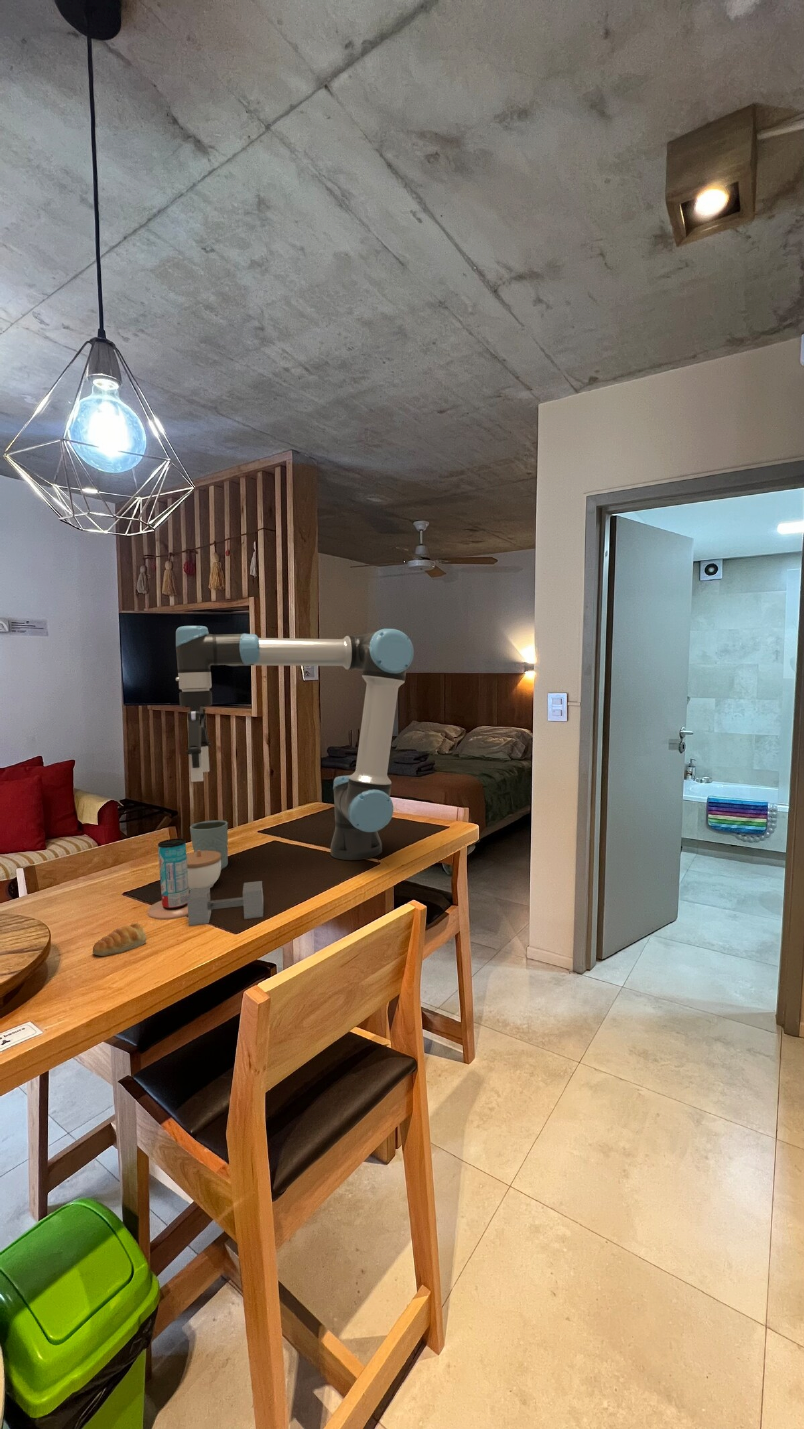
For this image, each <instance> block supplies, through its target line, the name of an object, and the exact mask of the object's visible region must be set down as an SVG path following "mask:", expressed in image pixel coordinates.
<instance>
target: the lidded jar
mask: <svg viewBox="0 0 804 1429" xmlns="http://www.w3.org/2000/svg"><path fill="white" fill-rule="evenodd" d="M186 854H187V870H188V886H189V891H190V890H191V889H193V888H202V887H210V889H211V888H213V887H214V884H215V883H216V882H217V880H219V878H220V875H221V871H222V869H221V854H220V853H219V852H216V851H201V850H197V852H194V851H192V852H189V853H186Z"/></svg>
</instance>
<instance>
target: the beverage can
mask: <svg viewBox="0 0 804 1429" xmlns="http://www.w3.org/2000/svg"><path fill="white" fill-rule="evenodd" d="M186 842H187V841H186V840H185V839H184V838H169V839H166V840H162V841H159V843H157V846H158V848H157V849H158V851H157V852H158V864H159V867H158V868H159V878H160V880H159V882H160V892H161V893H160V894H161V900H162V906H163V908H164V909H167V910H176V909H180V908H183V907H185V906H187V905H188V904H187V898H188V895H189V893H190V890H189V886H188V870H187V854H188V853H187V843H186Z"/></svg>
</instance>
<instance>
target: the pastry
mask: <svg viewBox="0 0 804 1429" xmlns="http://www.w3.org/2000/svg"><path fill="white" fill-rule="evenodd" d="M146 942H147V936H146V932H145V931H144V929H143V927H142V925H141V924H140V923H138V922H133V923H131V924H130V925H126V926H122V927H120V928H116V929H114V930H113V931H111V933H109V934H107V935H105V936H103V937H102V938H101V939H99V940H97V941H96V942H95V943H94V944H93V947H92V954H94V955H95V956H98V957H99V956H101V957H107V956H111V955H115V954H121V953H125V952H127V951H131V950H132V949H136V948H139V947H141V946H144V944H146Z"/></svg>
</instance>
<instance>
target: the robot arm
mask: <svg viewBox="0 0 804 1429" xmlns="http://www.w3.org/2000/svg"><path fill="white" fill-rule="evenodd" d="M175 650H176V662H177V663H176V664H177V674H178V675H177V676H176V677H175V681H176V682H178V689H179V690H181V691H180V692H179V693H178V695H179V696H178V697H179V706H180V707H181V708H190V710H189V711H187V750H185V755H189V770H190V782H191V783H193V782H194V783H196V782H204V780H205V779H204V773H209V772H210V771H211V770H210V758H209V757H210V756H209V746H212V744H211V741H209V740H210V739H209V735H208V727H207V713H206V709H205V708H204V707H211V706H213V693H212V690H210V689H211V688H212V685H213V684H212V672H211V666H221V665H222V666H224V665H225V666H229V667H239V666H242V667H243V666H247V667H248V666H250V667H251V666H281V667H282V666H287V667H288V666H289V667H290V666H301V667H302V666H306V667H307V666H309V667H310V666H312V667H313V666H314V667H319V666H320V667H323V666H324V667H327V666H328V667H343V668H344V669H345V670H356V671H357V670H358V671H362V672H361V677H362V679H363V680H364V681H365V683H366V687H365V694H364V702H363V709H362V718H361V724H360V725H361V726H360V733H359V739H358V740H359V741H358V750H357V757H356V766H355V771H354V772H353V773H352V774H349V775H340V776H339V775H338V776H336V777H335V778H334V780H333V787H332V789H333V800H334V802H333V803H334V822H335V823H334V824H335V825H334V826H335V829H334V831H333V836H332V838H331V839H332V840H331V844H330V850H329V851H330V855H331V857H332V858H335V859H338V860H343V861H345V860H346V861H358V860H366V859H368V860H369V859H371V858H375V857H377V856H379V855H381V854H382V852H383V844H382V840H381V838H380V835H379V832H378V831H380V830H382V829H384V828H385V827H386V826H388V824H389V823H390V822H391V820H392V818H393V815H394V804H393V800H392V799H391V790H392V781H391V779H390V777H389V776H388V769H389V761H390V755H391V754H390V753H391V747H392V746H391V745H392V739H393V738H392V737H393V731H394V722H395V716H396V710H397V709H396V708H397V707H396V706H397V702H398V701H397V700H398V694H399V693H398V692H399V688H400V687H401V685H403V684H405V681H406V674H407V669H408V668H409V667H410V665H411V664H412V662H413V661H414V654H415V650H414V645H413V642H412V640H411V639H410V637H409V636H408V635H407V634H406V633H404V631H401V630H398V629H396V628H382V629H379V630H378V631H377V630H376V631H371V632H369V633H365V634H360V635H359V634H358V635H346V636H344V637H343V638H339V639H337V638H292V637H291V638H288V637H286V638H285V637H284V638H282V637H280V638H279V637H258V635H257V634H254V633H253V634H251V633H231V634H229V633H227V634H215V633H214V634H212V633H210V632H209V629H208V627H207V626H203V625H184V626H179V627H178V628H177V629H176V631H175Z"/></svg>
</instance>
